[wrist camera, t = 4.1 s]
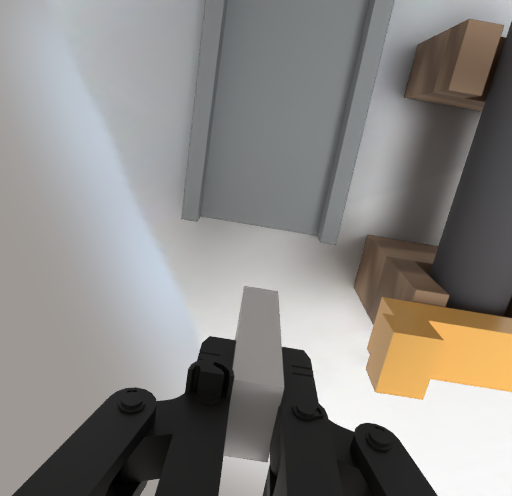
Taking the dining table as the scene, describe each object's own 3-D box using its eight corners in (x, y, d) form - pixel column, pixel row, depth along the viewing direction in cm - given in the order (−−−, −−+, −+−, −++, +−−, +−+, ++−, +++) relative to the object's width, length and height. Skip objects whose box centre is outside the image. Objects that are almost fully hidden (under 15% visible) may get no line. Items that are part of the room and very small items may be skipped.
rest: (418, 44, 24) (469, 19, 18) (547, 68, 24) (641, 50, 18) (403, 97, 25) (448, 90, 19) (528, 119, 25) (612, 119, 19)
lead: (502, 0, 19) (561, -30, 15) (582, 15, 19) (661, -11, 15) (394, 342, 25) (417, 383, 21) (456, 353, 25) (490, 395, 21)
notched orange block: (371, 295, 18) (393, 332, 15) (587, 330, 19) (654, 374, 16) (357, 346, 19) (375, 392, 16) (564, 380, 20) (622, 431, 16)
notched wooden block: (367, 234, 27) (416, 289, 18) (590, 272, 28) (742, 343, 19) (353, 287, 29) (393, 362, 20) (567, 322, 29) (700, 411, 20)
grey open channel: (232, -176, 21) (228, -207, 19) (418, -140, 21) (434, -167, 19) (187, 211, 27) (181, 219, 25) (330, 235, 27) (335, 244, 25)
